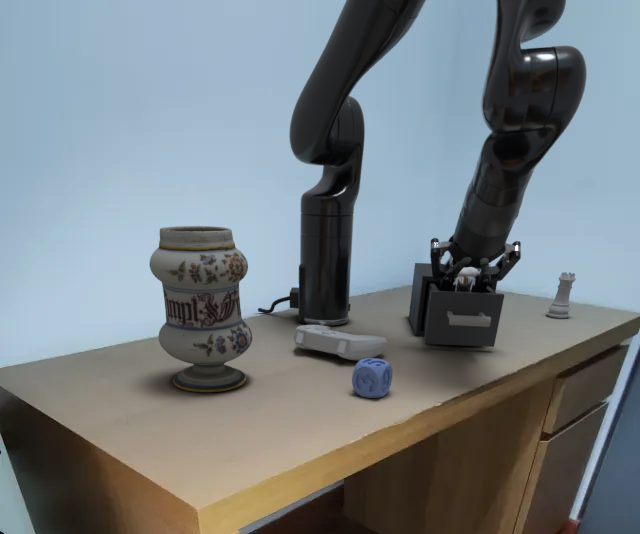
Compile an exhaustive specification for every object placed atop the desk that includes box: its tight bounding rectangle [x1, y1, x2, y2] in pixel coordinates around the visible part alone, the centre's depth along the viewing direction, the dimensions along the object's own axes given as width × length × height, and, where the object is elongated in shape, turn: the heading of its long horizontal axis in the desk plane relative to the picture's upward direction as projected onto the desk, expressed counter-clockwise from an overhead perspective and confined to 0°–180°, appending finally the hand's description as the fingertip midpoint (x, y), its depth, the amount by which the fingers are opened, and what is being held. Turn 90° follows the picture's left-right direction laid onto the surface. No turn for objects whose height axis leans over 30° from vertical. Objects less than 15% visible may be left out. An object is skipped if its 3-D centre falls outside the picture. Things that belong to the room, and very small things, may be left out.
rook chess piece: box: [546, 271, 576, 320], centre depth 115 cm, size 4×4×8 cm
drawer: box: [421, 281, 505, 348], centre depth 94 cm, size 19×11×8 cm, turn 177°
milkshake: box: [449, 267, 481, 292], centre depth 93 cm, size 4×5×10 cm
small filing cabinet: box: [408, 262, 498, 337], centre depth 104 cm, size 15×13×10 cm
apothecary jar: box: [148, 225, 253, 393], centre depth 72 cm, size 12×12×18 cm
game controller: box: [293, 322, 388, 362], centre depth 89 cm, size 14×4×10 cm
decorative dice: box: [351, 357, 393, 399], centre depth 74 cm, size 4×4×4 cm
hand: (460, 290), depth 95 cm, fingers closed on milkshake, 4 cm apart
